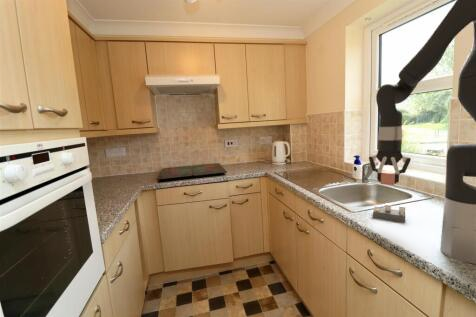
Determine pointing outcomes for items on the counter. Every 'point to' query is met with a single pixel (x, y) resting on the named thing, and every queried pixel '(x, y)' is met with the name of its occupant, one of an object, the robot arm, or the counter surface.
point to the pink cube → (388, 177)
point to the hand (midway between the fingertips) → (387, 182)
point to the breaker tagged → (388, 207)
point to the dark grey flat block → (388, 214)
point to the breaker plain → (401, 209)
